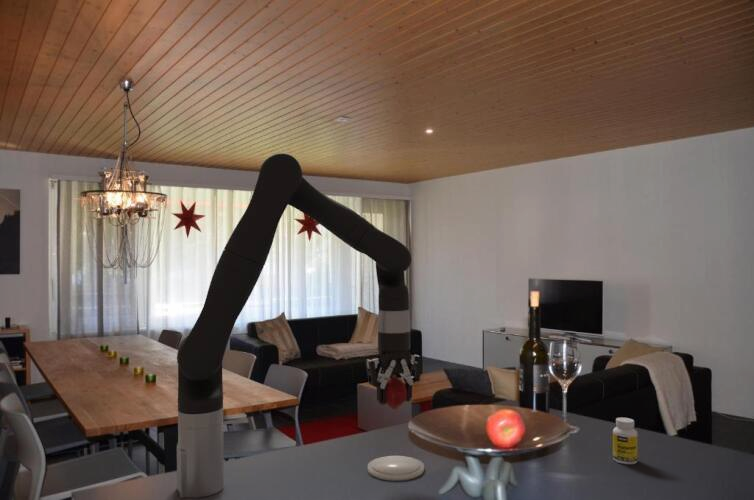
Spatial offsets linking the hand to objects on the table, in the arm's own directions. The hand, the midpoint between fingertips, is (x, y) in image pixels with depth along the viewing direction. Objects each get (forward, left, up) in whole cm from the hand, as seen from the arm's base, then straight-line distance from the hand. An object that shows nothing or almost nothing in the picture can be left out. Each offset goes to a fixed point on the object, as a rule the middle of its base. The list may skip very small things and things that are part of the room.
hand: (394, 402), depth 135 cm
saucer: (0, 0, -16) cm, 16 cm away
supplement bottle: (+51, -20, -16) cm, 57 cm away
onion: (0, 0, -2) cm, 2 cm away
